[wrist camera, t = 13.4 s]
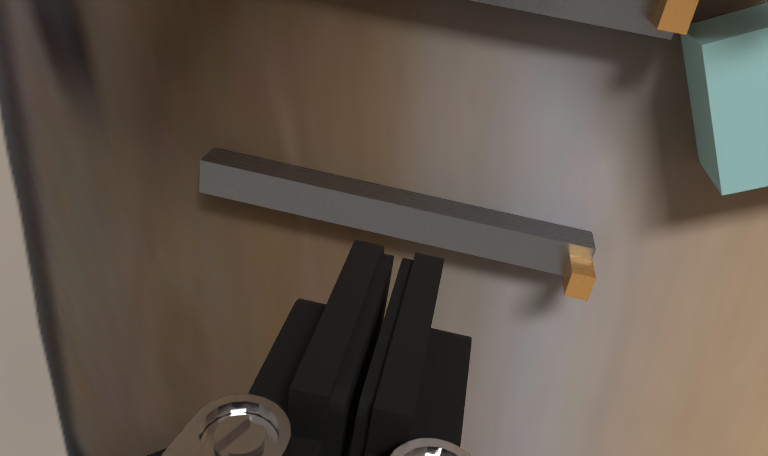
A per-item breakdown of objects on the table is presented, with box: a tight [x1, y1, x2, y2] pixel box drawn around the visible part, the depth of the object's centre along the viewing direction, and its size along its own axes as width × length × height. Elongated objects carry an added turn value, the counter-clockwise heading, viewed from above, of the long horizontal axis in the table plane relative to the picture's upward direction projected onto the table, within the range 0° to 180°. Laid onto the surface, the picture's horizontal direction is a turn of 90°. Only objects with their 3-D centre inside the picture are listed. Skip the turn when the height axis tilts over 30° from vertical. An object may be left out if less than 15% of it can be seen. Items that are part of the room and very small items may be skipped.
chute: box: [199, 0, 699, 301], centre depth 33 cm, size 15×22×4 cm
